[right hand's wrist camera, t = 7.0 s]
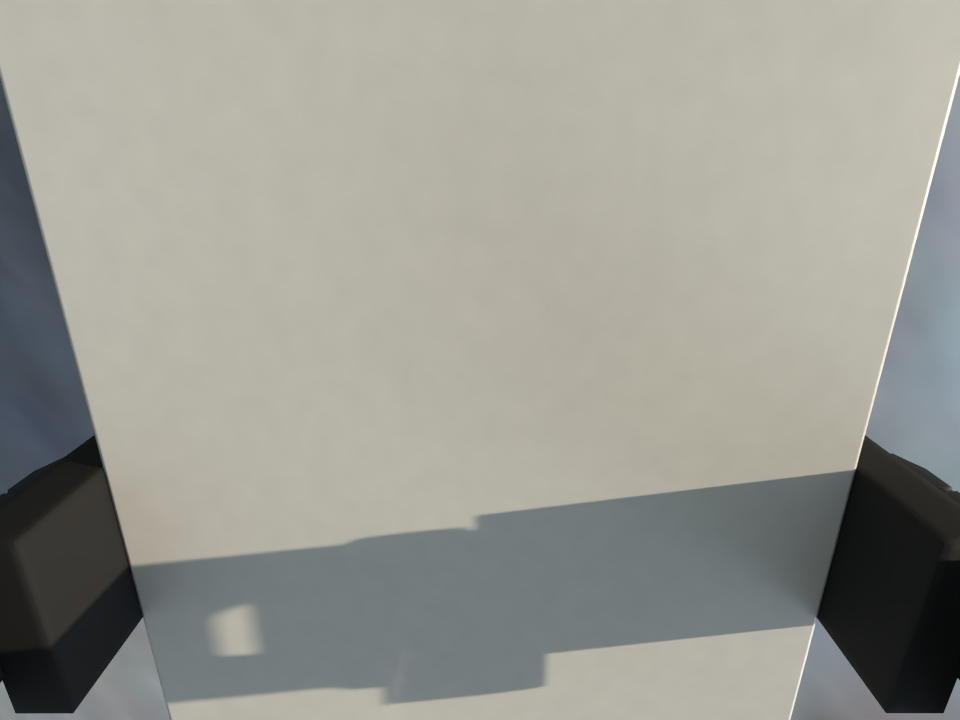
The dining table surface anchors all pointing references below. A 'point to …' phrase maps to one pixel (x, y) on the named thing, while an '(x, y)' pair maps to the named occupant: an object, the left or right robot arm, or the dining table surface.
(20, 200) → the dining table surface
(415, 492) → the cabinet
